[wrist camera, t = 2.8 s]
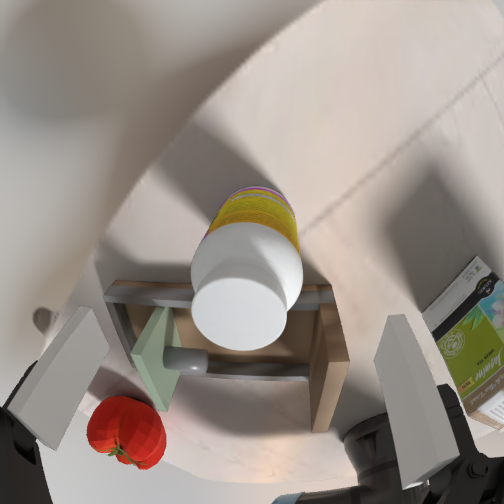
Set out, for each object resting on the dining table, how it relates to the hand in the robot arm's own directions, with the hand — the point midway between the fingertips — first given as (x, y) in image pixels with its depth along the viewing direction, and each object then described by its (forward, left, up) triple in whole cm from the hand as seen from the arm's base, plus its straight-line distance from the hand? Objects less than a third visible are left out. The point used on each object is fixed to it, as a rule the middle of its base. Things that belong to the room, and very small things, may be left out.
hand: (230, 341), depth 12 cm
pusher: (+7, +12, -13) cm, 20 cm away
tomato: (+22, +34, -15) cm, 43 cm away
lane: (+4, +12, -15) cm, 20 cm away
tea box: (-27, +12, -15) cm, 33 cm away
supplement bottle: (0, 0, -15) cm, 15 cm away
